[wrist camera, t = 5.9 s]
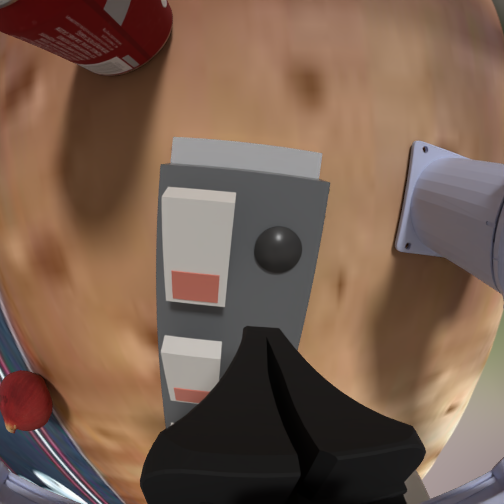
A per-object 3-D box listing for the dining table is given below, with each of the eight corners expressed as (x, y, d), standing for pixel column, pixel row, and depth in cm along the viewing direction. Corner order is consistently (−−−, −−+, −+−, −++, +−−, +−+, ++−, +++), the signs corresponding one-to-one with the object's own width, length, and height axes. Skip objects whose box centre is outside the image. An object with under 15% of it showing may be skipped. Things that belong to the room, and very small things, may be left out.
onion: (24, 384, 23) (-8, 431, 16) (15, 347, 22) (-25, 394, 14) (66, 405, 24) (38, 458, 17) (61, 369, 23) (24, 426, 15)
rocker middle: (222, 341, 16) (220, 360, 15) (218, 391, 20) (217, 406, 18) (164, 335, 16) (160, 353, 15) (173, 386, 19) (170, 401, 18)
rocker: (236, 192, 14) (234, 203, 13) (226, 292, 17) (224, 307, 16) (168, 186, 13) (161, 197, 12) (170, 286, 17) (165, 301, 16)
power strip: (319, 153, 18) (338, 153, 14) (262, 443, 26) (265, 472, 23) (175, 137, 17) (160, 133, 14) (174, 436, 25) (169, 464, 22)
